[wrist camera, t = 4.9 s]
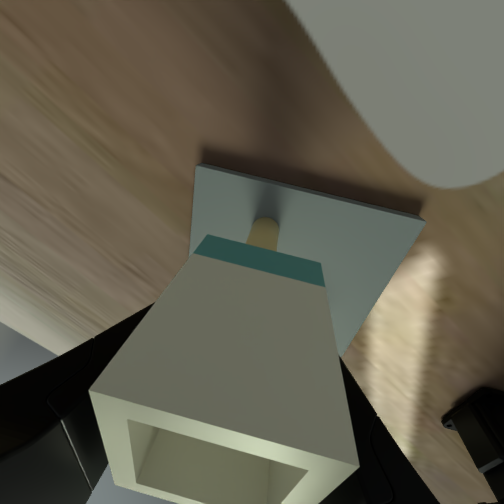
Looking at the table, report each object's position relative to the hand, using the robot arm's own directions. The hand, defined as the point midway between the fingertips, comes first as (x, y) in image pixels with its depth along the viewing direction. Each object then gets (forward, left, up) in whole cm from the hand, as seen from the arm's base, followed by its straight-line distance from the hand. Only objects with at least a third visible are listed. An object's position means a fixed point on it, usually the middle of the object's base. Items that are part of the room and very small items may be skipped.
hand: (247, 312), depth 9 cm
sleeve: (0, 0, -1) cm, 1 cm away
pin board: (-2, +4, -9) cm, 10 cm away
